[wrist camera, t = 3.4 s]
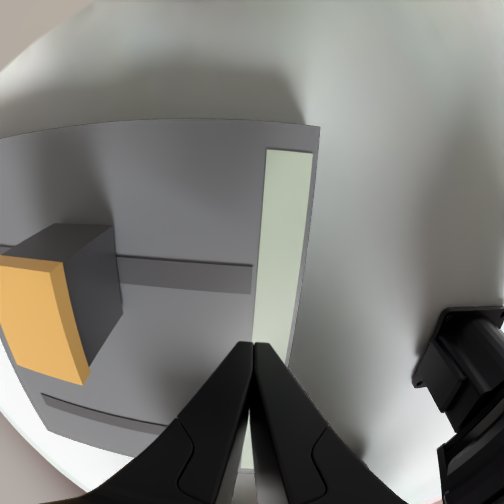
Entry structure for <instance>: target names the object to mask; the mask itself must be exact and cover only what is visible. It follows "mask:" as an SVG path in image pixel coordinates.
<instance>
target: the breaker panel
mask: <svg viewBox="0 0 504 504" xmlns="http://www.w3.org/2000/svg"><path fill="white" fill-rule="evenodd" d="M319 137H320V127H318V126H310V125H301V124H292V123H281V122H270V121H256V120H238V119H204V118H179V119H145V120H128V121H114V122H103V123H93V124H84V125H76V126H68V127H61V128H54V129H48V130H42V131H36V132H30V133H25V134H20V135H15V136H10V137H6V138H1V139H0V255H2V254H3V253H5V252H6V251H8V250H9V249H11V248H13V247H14V246H16V245H18V244H19V243H21V242H22V241H24V240H26V239H28V238H29V237H31V236H33V235H34V234H36V233H38V232H39V231H41V230H43V229H45V228H47V227H48V226H50V225H52V224H54V223H62V224H87V225H111V226H113V235H114V246H115V256H116V265H117V273H118V281H119V288H120V295H121V302H122V308H123V315H122V316H121V318H120V319H119V321H118V322H117V324H116V325H115V327H114V329H113V330H112V332H111V333H110V335H109V336H108V338H107V339H106V341H105V343H104V344H103V346H102V347H101V349H100V351H99V352H98V354H97V355H96V357H95V359H94V360H93V362H92V363H91V365H90V367H89V369H90V372H91V373H90V374H89V376H88V378H87V380H86V381H85V383H84V385H83V386H82V385H78V384H75V383H71V382H68V381H64V380H61V379H58V378H54V377H51V376H48V375H45V374H42V373H39V372H36V371H33V370H30V369H27V368H25V367H22V366H19V365H17V363H16V361H15V359H14V356H13V354H12V352H11V349H10V347H9V345H8V342H7V340H6V337H5V335H4V332H3V329H2V327H1V324H0V339H1V341H2V344H3V346H4V348H5V351H6V353H7V355H8V358H9V360H10V362H11V364H12V366H13V368H14V371H15V373H16V375H17V377H18V379H19V381H20V383H21V385H22V387H23V389H24V390H25V392H26V394H27V396H28V398H29V400H30V402H31V403H32V405H33V407H34V409H35V410H36V412H37V414H38V415H39V417H40V419H41V420H42V422H43V424H44V425H45V427H46V428H47V430H48V431H50V432H53V433H55V434H58V435H61V436H63V437H66V438H69V439H72V440H75V441H78V442H81V443H84V444H87V445H90V446H93V447H96V448H100V449H103V450H107V451H110V452H114V453H118V454H122V455H126V456H130V457H134V458H135V457H136V456H138V455H139V454H140V453H141V452H142V451H143V450H144V449H146V448H147V447H148V446H149V445H150V444H151V443H152V442H153V441H154V440H155V439H156V438H157V437H158V436H159V435H160V434H161V433H162V432H163V431H164V430H165V429H166V428H167V426H168V425H169V424H170V423H171V422H172V421H173V419H174V418H177V415H178V414H179V413H180V411H181V410H182V409H183V408H184V407H185V406H186V404H187V403H188V402H189V401H190V400H191V398H192V397H193V396H194V395H195V394H196V392H197V391H198V390H199V389H200V388H201V386H202V385H203V384H204V383H205V382H206V380H207V379H208V378H209V377H210V375H211V374H212V373H213V372H214V371H215V369H216V368H217V367H218V366H219V364H220V363H221V362H222V361H223V359H224V358H225V357H226V356H227V354H228V353H229V352H230V351H231V350H232V348H233V347H234V346H235V344H236V343H237V342H238V341H249V342H253V344H254V343H255V342H266V343H270V344H271V346H272V347H273V348H274V350H275V351H276V353H277V354H278V355H279V357H280V358H281V360H282V361H283V362H284V364H285V365H286V367H287V368H288V365H289V359H290V354H291V348H292V343H293V337H294V331H295V325H296V319H297V313H298V307H299V301H300V294H301V288H302V281H303V274H304V267H305V260H306V253H307V246H308V238H309V231H310V223H311V214H312V206H313V197H314V188H315V179H316V169H317V159H318V148H319ZM249 410H250V409H249ZM238 473H254V464H253V454H252V443H251V433H250V420H249V419H248V425H247V430H246V435H245V440H244V444H243V449H242V454H241V459H240V464H239V468H238Z"/></svg>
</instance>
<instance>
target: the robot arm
mask: <svg viewBox="0 0 504 504" xmlns="http://www.w3.org/2000/svg"><path fill="white" fill-rule="evenodd" d="M447 316H448V317H447ZM503 322H504V306H491V307H464V308H447V309H445V310H444V311H443V312H442V313H441V315H440V318H439V321H438V323H437V326H436V328H435V331H434V333H433V336H432V338H431V340H430V343H429V345H428V347H427V350H426V352H425V354H424V356H423V359H422V361H421V363H420V365H419V367H418V369H417V371H416V374H415V376H414V378H413V380H412V384H413V386H414V388H422V387H427V388H428V390H429V392H430V394H431V395H432V397H433V399H434V401H435V403H436V405H437V407H438V409H439V410H440V412H441V413H444V412H445V414H446V416H447V418H448V419H449V421H450V423H451V425H452V427H453V429H454V431H455V433H457V434H455V435H454V436H453V437H452V438H451V439H450V440H449V441H448V442H446V443H444V444H442V445H441V446H440V447H439V448H437V455H438V463H439V471H440V480H441V490H442V501H443V504H504V333H503V332H502V331H501V330H500V328H501V326H502V324H503ZM249 409H250V410H249ZM248 419H249V420H250V433H251V443H252V454H253V464H254V474H255V483H256V493H257V502H258V504H408V503H407V502H405V501H404V500H402V499H401V498H400V497H399V496H397V495H396V494H395V493H394V492H393V491H392V490H391V489H389V488H388V487H387V486H386V485H385V484H384V483H383V482H382V481H381V480H380V479H379V478H378V477H376V476H375V475H374V474H373V473H372V472H371V471H370V470H369V469H368V468H367V467H366V466H365V465H364V464H363V463H362V462H361V461H360V460H359V459H358V458H357V457H356V456H355V455H354V454H353V453H352V452H351V451H350V450H349V448H348V447H347V446H346V445H345V444H344V442H343V441H342V440H341V439H340V438H339V436H338V435H337V434H336V433H335V431H334V430H333V429H332V427H331V426H328V425H329V424H328V422H327V421H326V419H325V418H324V417H323V416H322V414H321V413H320V412H319V410H318V409H317V407H316V406H315V405H314V403H313V402H312V401H311V399H310V398H309V397H308V395H307V394H306V393H305V391H304V390H303V389H302V387H301V386H300V385H299V383H298V382H297V380H296V379H295V378H294V376H293V375H292V374H291V372H290V371H289V369H288V368H287V367H286V365H285V364H284V362H283V361H282V360H281V358H280V357H279V355H278V354H277V353H276V351H275V350H274V348H273V347H272V346H271V344H270V343H266V342H255V343H254V344H253V342H249V341H238V342H237V343H236V344H235V346H234V347H233V348H232V350H231V351H230V352H229V353H228V354H227V356H226V357H225V358H224V359H223V361H222V362H221V363H220V364H219V366H218V367H217V368H216V369H215V371H214V372H213V373H212V374H211V375H210V377H209V378H208V379H207V380H206V382H205V383H204V384H203V385H202V386H201V388H200V389H199V390H198V391H197V392H196V394H195V395H194V396H193V397H192V398H191V400H190V401H189V402H188V403H187V404H186V406H185V407H184V408H183V409H182V410H181V411H180V413H179V414H178V415H177V418H174V419H173V421H172V422H171V423H170V424H169V425H168V426H167V428H166V429H165V430H164V431H163V432H162V433H161V434H160V435H159V436H158V437H157V438H156V439H155V440H154V441H153V442H152V443H151V444H150V445H149V446H148V447H147V448H146V449H144V450H143V451H142V452H141V453H140V454H139V455H138V456H136V457H135V458H134V459H133V460H132V461H130V462H129V463H128V464H127V465H125V466H124V467H123V468H122V469H120V470H119V471H118V472H117V473H115V474H114V475H113V476H112V477H110V478H109V479H108V480H107V481H105V482H104V483H103V484H101V485H100V486H99V487H97V488H95V489H94V490H92V491H90V492H88V493H86V494H84V495H81V496H78V497H74V498H70V499H65V500H59V501H54V502H48V503H41V504H231V500H232V496H233V491H234V487H235V482H236V478H237V473H238V468H239V464H240V459H241V454H242V449H243V444H244V440H245V435H246V430H247V425H248Z"/></svg>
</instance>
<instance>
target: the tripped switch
mask: <svg viewBox="0 0 504 504" xmlns="http://www.w3.org/2000/svg"><path fill="white" fill-rule="evenodd" d="M122 315H123V308H122V302H121V295H120V288H119V281H118V273H117V265H116V256H115V246H114V235H113V226H111V225H87V224H62V223H54V224H52V225H50V226H48V227H47V228H45V229H43V230H41V231H39V232H38V233H36V234H34V235H33V236H31V237H29V238H28V239H26V240H24V241H22V242H21V243H19V244H18V245H16V246H14V247H13V248H11V249H9V250H8V251H6V252H5V253H3V254H2V255H0V324H1V327H2V329H3V332H4V335H5V337H6V340H7V342H8V345H9V347H10V349H11V352H12V354H13V356H14V359H15V361H16V363H17V365H19V366H22V367H25V368H27V369H30V370H33V371H36V372H39V373H42V374H45V375H48V376H51V377H54V378H58V379H61V380H64V381H68V382H71V383H75V384H78V385H82V386H83V385H84V383H85V381H86V380H87V378H88V376H89V374H90V373H91V372H90V369H89V367H90V365H91V363H92V362H93V360H94V359H95V357H96V355H97V354H98V352H99V351H100V349H101V347H102V346H103V344H104V343H105V341H106V339H107V338H108V336H109V335H110V333H111V332H112V330H113V329H114V327H115V325H116V324H117V322H118V321H119V319H120V318H121V316H122Z"/></svg>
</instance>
